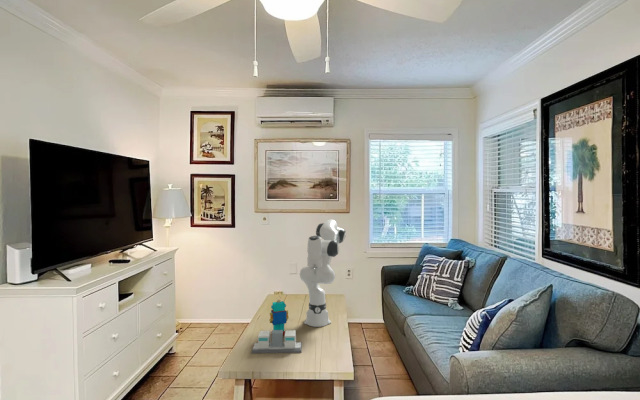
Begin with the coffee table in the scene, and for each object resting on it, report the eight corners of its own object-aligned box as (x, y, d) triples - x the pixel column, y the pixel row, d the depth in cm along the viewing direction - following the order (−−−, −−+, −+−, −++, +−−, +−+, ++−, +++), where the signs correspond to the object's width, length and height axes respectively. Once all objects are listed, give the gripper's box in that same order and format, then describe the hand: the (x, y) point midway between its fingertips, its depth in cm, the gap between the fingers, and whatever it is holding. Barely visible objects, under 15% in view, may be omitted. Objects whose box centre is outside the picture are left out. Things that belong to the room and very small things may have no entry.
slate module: (272, 343, 210) (272, 330, 210) (282, 343, 210) (282, 329, 210) (271, 346, 205) (271, 333, 205) (282, 346, 206) (282, 332, 205)
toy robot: (286, 332, 233) (286, 293, 232) (288, 335, 227) (288, 296, 226) (268, 334, 228) (268, 295, 228) (270, 338, 223) (270, 298, 222)
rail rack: (254, 345, 213) (254, 330, 213) (301, 344, 214) (301, 329, 213) (251, 353, 202) (251, 337, 202) (301, 352, 203) (301, 336, 202)
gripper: (320, 266, 205) (320, 290, 205) (319, 260, 226) (319, 282, 226) (309, 266, 205) (309, 290, 205) (309, 260, 225) (309, 282, 226)
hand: (314, 286), depth 216 cm, fingers open, 8 cm apart
